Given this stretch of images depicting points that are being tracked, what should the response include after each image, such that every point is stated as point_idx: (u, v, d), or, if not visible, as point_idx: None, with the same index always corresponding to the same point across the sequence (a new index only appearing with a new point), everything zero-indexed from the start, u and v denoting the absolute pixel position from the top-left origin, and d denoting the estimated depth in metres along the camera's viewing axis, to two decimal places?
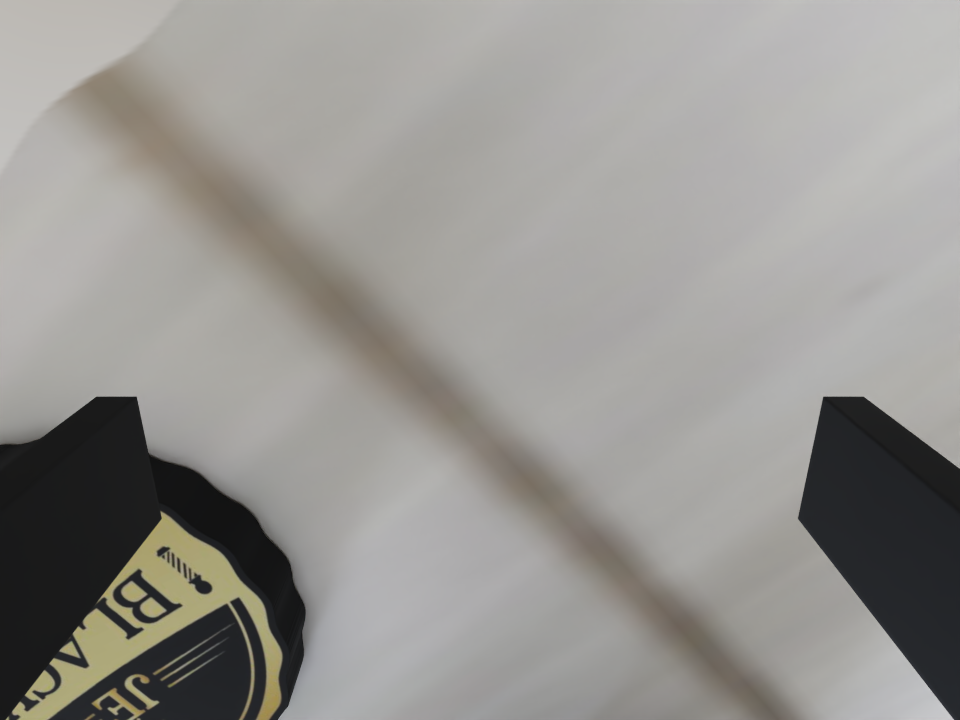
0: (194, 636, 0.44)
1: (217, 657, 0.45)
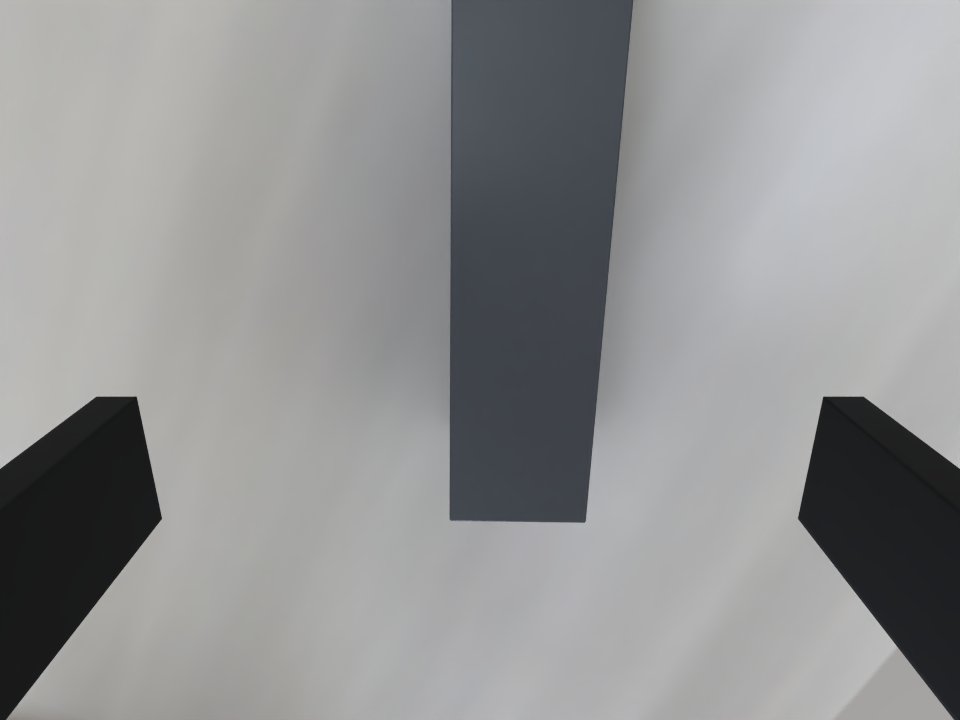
0: None
1: None
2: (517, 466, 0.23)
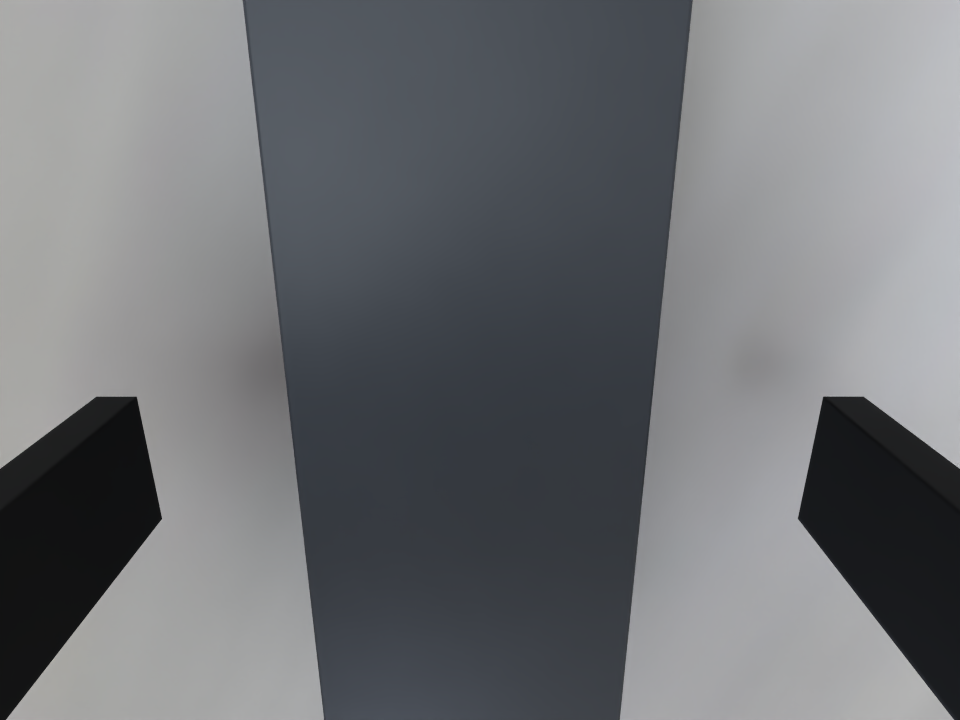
0: None
1: None
2: None
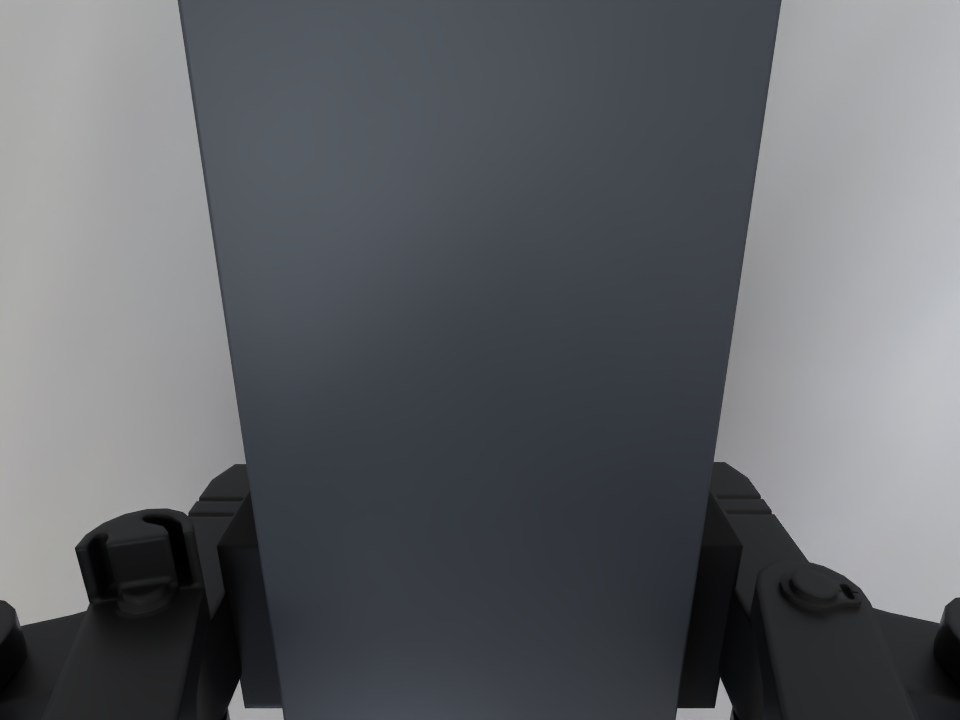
0: None
1: None
2: None
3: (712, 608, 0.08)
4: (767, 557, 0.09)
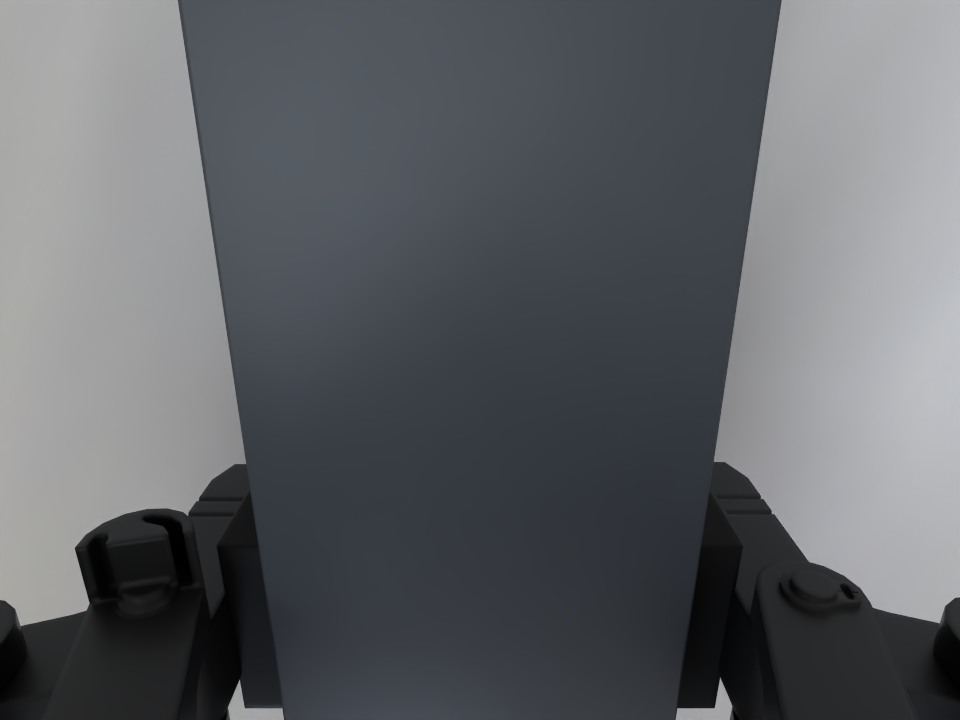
0: None
1: None
2: None
3: (712, 608, 0.08)
4: (767, 557, 0.09)
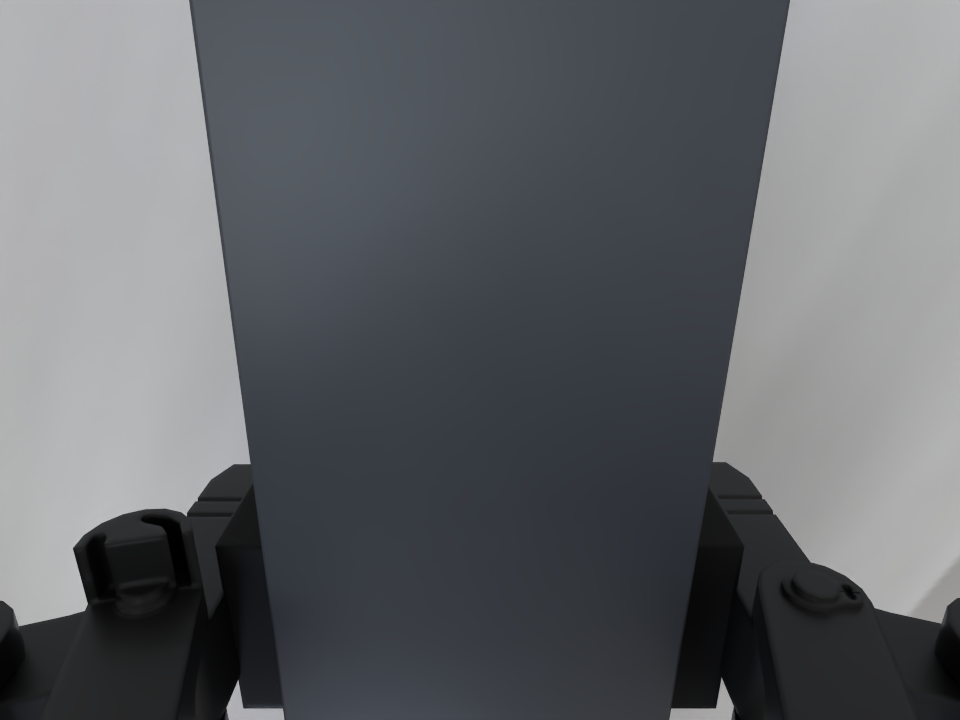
0: None
1: None
2: None
3: (713, 608, 0.08)
4: (769, 557, 0.09)
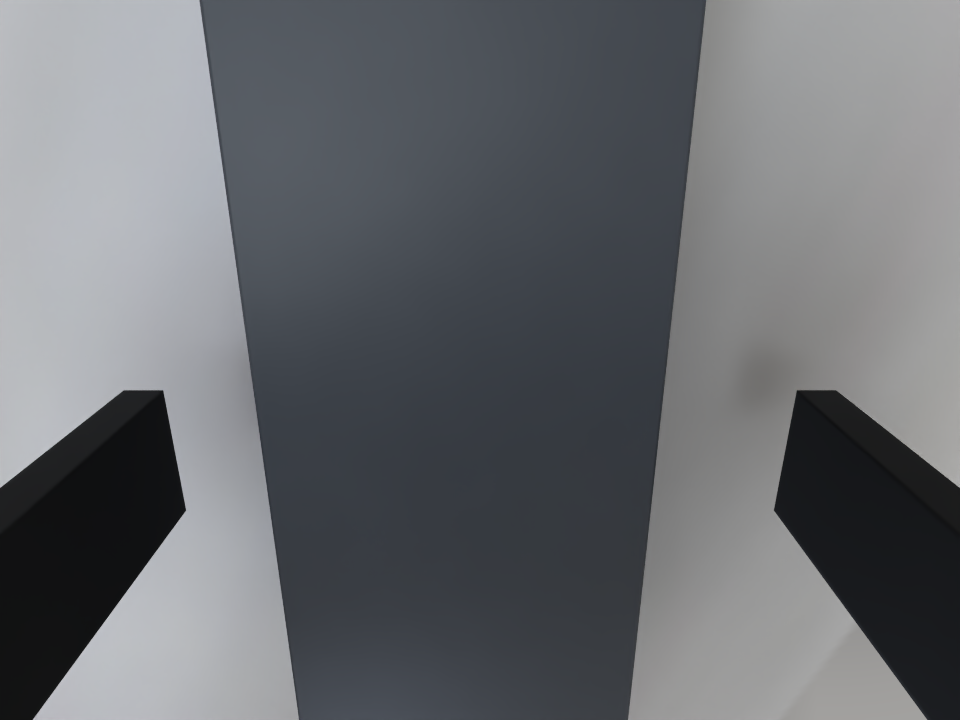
0: None
1: None
2: None
3: None
4: None
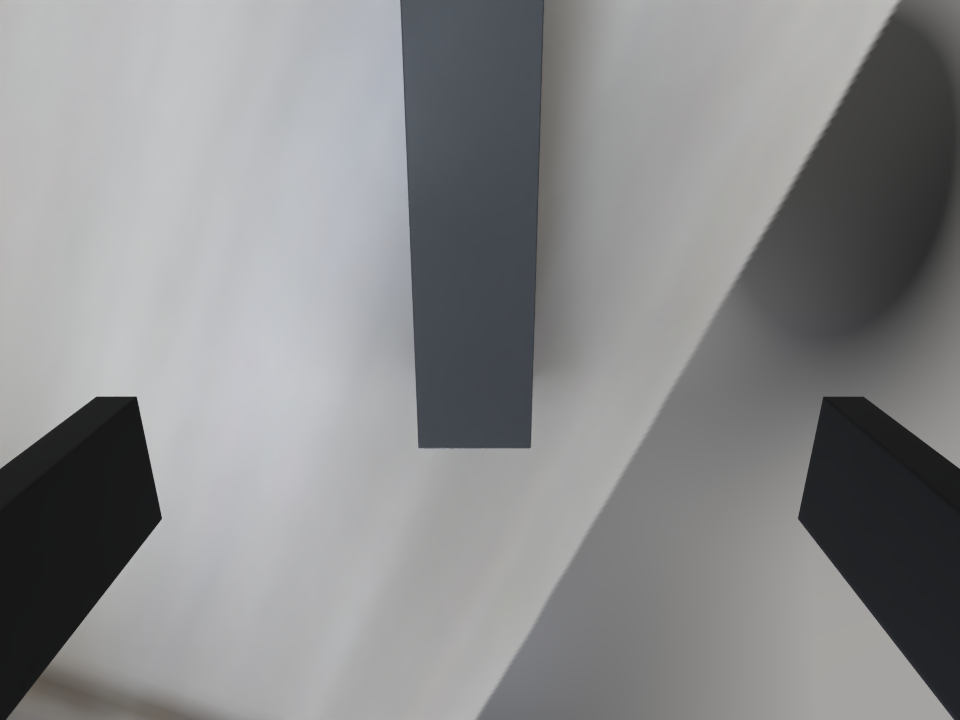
0: None
1: None
2: (472, 400, 0.28)
3: None
4: None
